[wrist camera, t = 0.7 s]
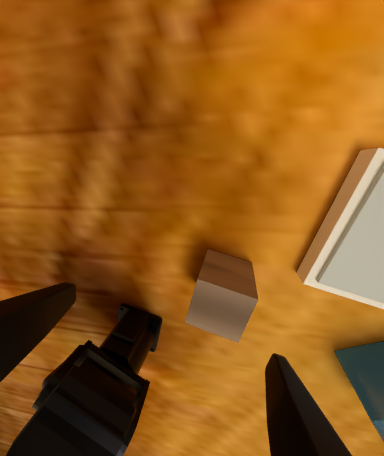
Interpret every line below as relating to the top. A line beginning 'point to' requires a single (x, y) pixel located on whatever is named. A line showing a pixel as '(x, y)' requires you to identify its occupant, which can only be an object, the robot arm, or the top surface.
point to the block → (223, 296)
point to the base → (352, 236)
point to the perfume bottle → (367, 378)
